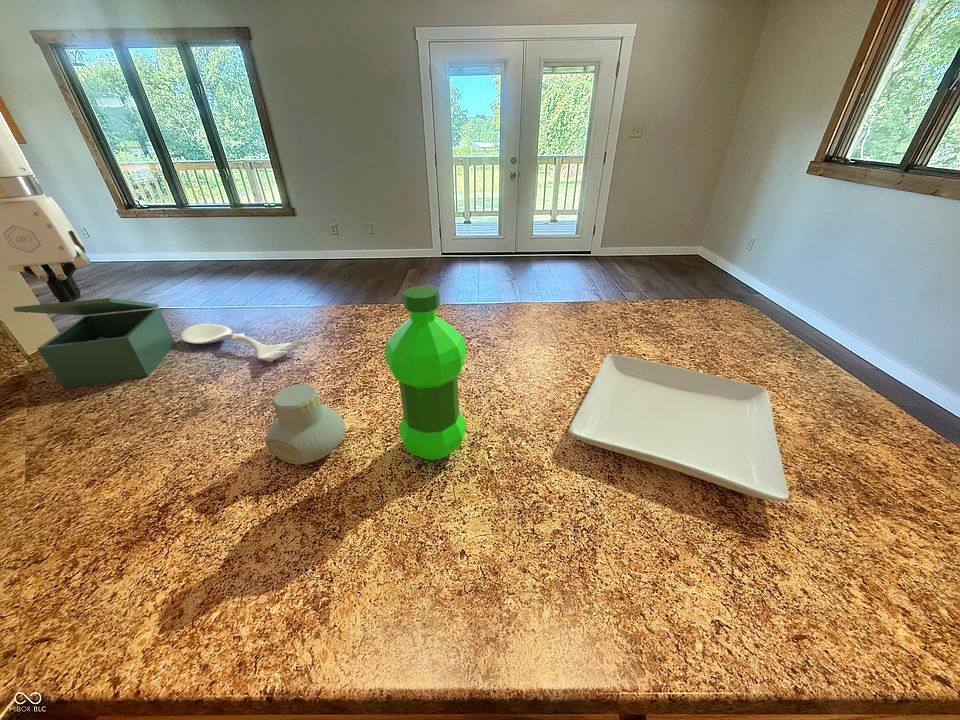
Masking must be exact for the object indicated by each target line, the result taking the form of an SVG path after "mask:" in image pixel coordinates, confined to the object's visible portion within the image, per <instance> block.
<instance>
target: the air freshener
mask: <svg viewBox="0 0 960 720" xmlns="http://www.w3.org/2000/svg"><path fill="white" fill-rule="evenodd" d="M271 402H272V406H273V408H274V409H273V410H274V412H275V414H276V417H277V418H276V419H275V420H274V421H273V422H272V423H271V425H270V426H269V428H268V429H267V431H266V434H265V439H264V440H265V445H266V447H267V449H268V450H269V451H270V452H271V453H272V454H273V455H274V456H276V457H277V458H279V459H280V460H281V461H284V462H287V463H289V464H293V465H305V464H309V463H313V462H317V461H318V460H321V459H323V458H325V457H326V456H328V455H329V454H331V453H332V452H333V451H334V450H335V449H336V448H337V447H338V446H339V445H340V443H341V442H342V440H343V438H344V437H345V436H344V435H345V431H346V423H345V419H344V418H343V417H342V416H341V414H339V413H338V412H337V411H336V410H334V409H332V408H330V407H329V406H326V405H323V404H322V403H321V399H320V395H319V392H318V389H317V388H316V387H315V386H313V385H310V384H307V383H299V384H292V385H289V386H286V387H285V388H283V389H281V390H280V391H278V392H277V393H276V394H275V395H274V397H273V398H272V401H271Z"/></svg>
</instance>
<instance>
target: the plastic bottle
mask: <svg viewBox="0 0 960 720" xmlns="http://www.w3.org/2000/svg"><path fill="white" fill-rule="evenodd" d="M402 297H403V306H404V308H405V310H406V311H407V312H409V318H408V319H406V320H405V322H403V323H402V324H401V325H400V326H399V327H398V328H397V329H396V330H395V331H394V332H393V333H392V335H391V336H390V338H388V340H386V344H385V346H384V347H385V348H384V357H385V361H386V363H387V366H388V368H389V370H390V372H391V373H392V375H393V377H394V379H395V380H396V381H398V384H399V391H400V398H401V407H402V414H403V418H402V419H401V421H400V424H399V427H398V433H399V437H400V439H401V441H402V443H403V445H404V447H405V449H406V450H407V452H408V453H409V454H411V455H414V456H416V457H419V458H422V459H423V460H427V461H435V460H442V459H444V458H446V457H448V456H449V455H450V454H452V453H453V452H455V451H457V450H458V449H459V448H460V447H461V445H462V442H463V439H464V436H465V433H466V430H467V422H466V420H465V418H464V416H463V415H462V413H461V412H460V405H459V404H460V402H459V379H458V378H459V375H461V371H462V370H463V366H464V364H465V363H466V356H467V344H466V341H465V339H464V337H463V335H462V334H461V333H460V332H459V331H458V330H457V329H456V328H454V327H453V326H452V325H451V324H450V323H448V322H446V320H444V319H442V318H440V317H439V316H437V309H438V308H440V305H441V302H440V290H439V289H437V288H436V287H434V286H427V285H420V286H413V287H409V288H406V289H405V290H404V291H403V292H402Z"/></svg>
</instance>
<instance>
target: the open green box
mask: <svg viewBox="0 0 960 720" xmlns="http://www.w3.org/2000/svg"><path fill="white" fill-rule="evenodd" d="M99 336H100V337H105V338H108V339H100V340H97V339H98V337H99ZM175 344H176V341H175V339H174V337H173V335H172V332H171V330H170V328H169V326H168V324H167V322H166V320H165V317H164V315H163V312H162V310H161V308H160V307H158V308H150V309H140V310H131V311H121V312H112V313H102V314H93V315H82V317H80V318H79V319H77V320H76V321H74V322H73V323H72V324H70V325H69V326H68V327H66V328H65V329H64V328H63V330H61V331H60V332H59V333H57V334H56V335H54V336H53V337H52V338H50V339H48V340H47V341H46V342H44V343H43V344H42V345H40V346H39V347H37V348H36V349H37V351H38V352H39V354H40V356H41V357H42V358H43V360H44V361H45V363H46V364H47V366H48V367H49V369H50V371H51V372H52V373H53V375H54V376H55V378H56V379H57V381H58V382H59V384H60V385H61V387H62V388H63V389H64V390H67V389H73V388H72V387H74V388H79V387H80V386H81V387H87V386H94V385H99V384H100V385H102V384H108V383H114V382H122V381H129V380H135V379H136V380H137V379H142V378H149V377H150V376H151V374H152V373H153V371H154V370H155V369H156V368H157V366H158V365H159V364H160V363H161V361H162V360H163V358H164V357H166V355H167V354H168V352H170V350H171V349H172V347H173V346H174V345H175Z"/></svg>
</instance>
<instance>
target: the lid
mask: <svg viewBox="0 0 960 720" xmlns="http://www.w3.org/2000/svg"><path fill="white" fill-rule="evenodd" d="M152 308H159V304H158V303H152V302H145V301H137V300H129V299H119V298H113V297H104V298H93V299H83V300H75V301H72V302H61V303H60V302H53V303H42V304H31V305H21V306H13V312H15V313H30V314H31V313H32V314H50V315H69V316H86V315H96V314H105V313H115V312H124V311H134V310H143V309H152Z"/></svg>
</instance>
